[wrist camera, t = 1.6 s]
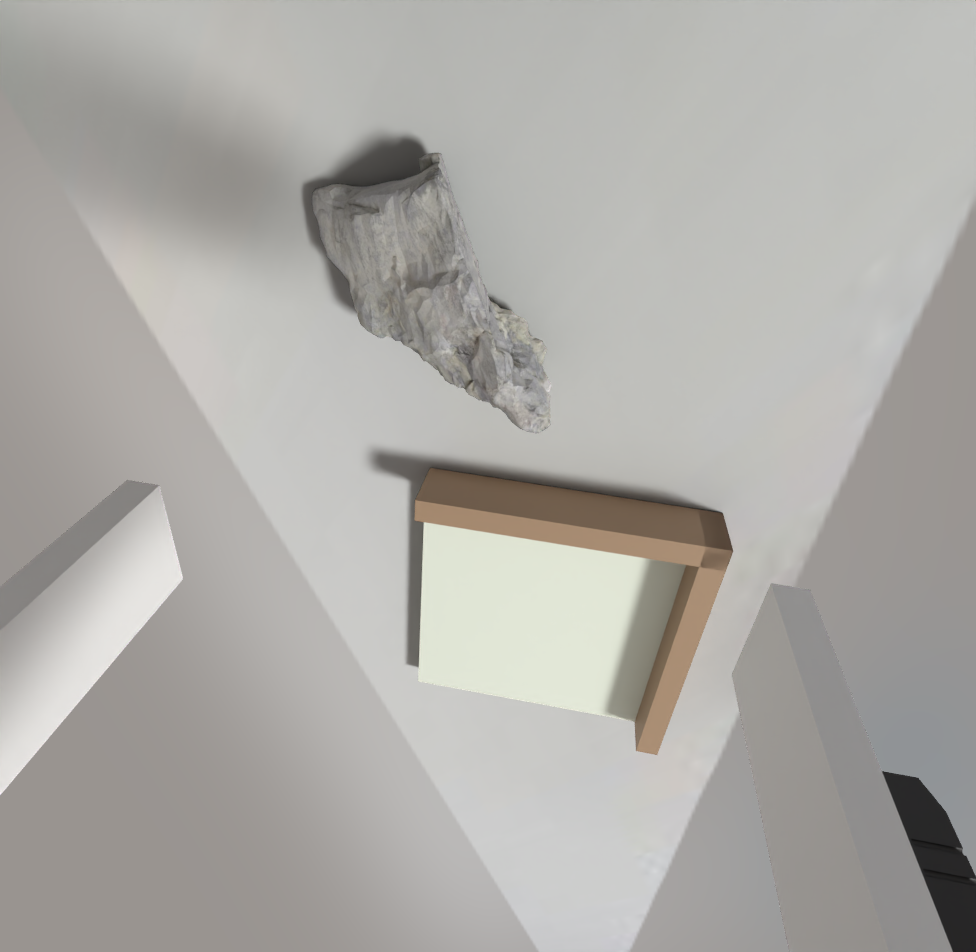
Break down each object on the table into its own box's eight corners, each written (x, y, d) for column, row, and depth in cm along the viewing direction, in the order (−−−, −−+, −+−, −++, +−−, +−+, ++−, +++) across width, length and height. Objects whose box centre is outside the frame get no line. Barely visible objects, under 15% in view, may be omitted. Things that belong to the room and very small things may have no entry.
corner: (430, 467, 32) (415, 500, 30) (722, 513, 31) (733, 551, 28) (422, 668, 40) (410, 707, 38) (653, 711, 39) (656, 754, 37)
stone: (448, 442, 31) (426, 485, 27) (303, 201, 26) (254, 214, 23) (569, 390, 28) (563, 430, 25) (431, 115, 24) (399, 115, 20)
